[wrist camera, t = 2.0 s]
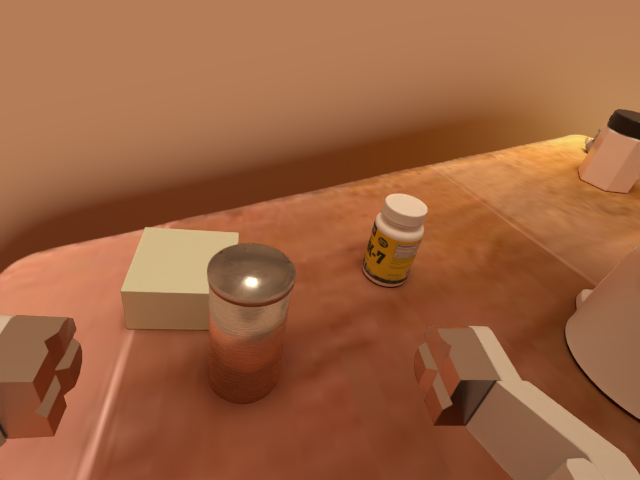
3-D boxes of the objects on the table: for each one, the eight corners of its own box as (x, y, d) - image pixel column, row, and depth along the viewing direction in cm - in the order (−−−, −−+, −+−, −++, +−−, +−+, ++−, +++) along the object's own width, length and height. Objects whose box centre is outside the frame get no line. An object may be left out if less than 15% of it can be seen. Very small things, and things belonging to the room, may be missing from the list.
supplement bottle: (355, 259, 43) (373, 190, 38) (394, 257, 45) (417, 190, 40) (372, 290, 40) (394, 218, 35) (414, 286, 41) (441, 217, 36)
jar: (606, 173, 78) (645, 112, 71) (638, 195, 71) (684, 130, 64) (566, 169, 76) (602, 106, 69) (594, 191, 70) (637, 123, 63)
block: (236, 266, 39) (238, 232, 37) (232, 330, 33) (234, 294, 31) (149, 262, 38) (145, 227, 35) (127, 329, 31) (120, 291, 29)
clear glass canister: (277, 344, 32) (292, 245, 27) (280, 404, 28) (299, 302, 23) (210, 344, 31) (211, 241, 26) (203, 405, 27) (202, 299, 22)
